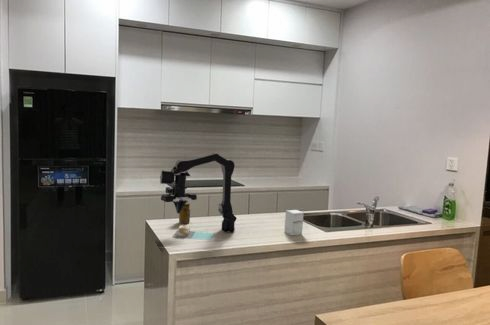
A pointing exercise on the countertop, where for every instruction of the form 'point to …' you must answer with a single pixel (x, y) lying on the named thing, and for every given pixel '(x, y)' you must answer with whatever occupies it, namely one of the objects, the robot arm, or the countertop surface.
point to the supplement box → (293, 222)
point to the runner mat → (196, 235)
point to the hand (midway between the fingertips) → (178, 213)
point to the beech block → (183, 230)
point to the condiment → (185, 214)
